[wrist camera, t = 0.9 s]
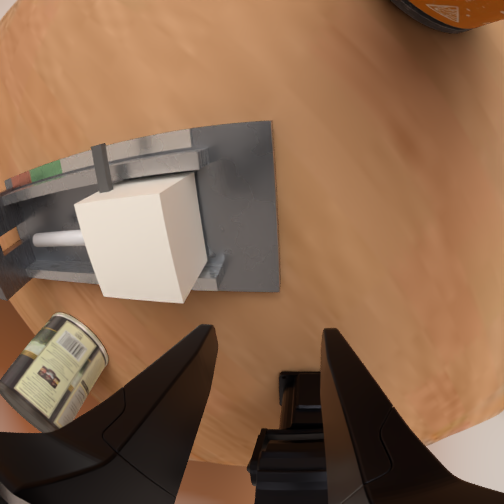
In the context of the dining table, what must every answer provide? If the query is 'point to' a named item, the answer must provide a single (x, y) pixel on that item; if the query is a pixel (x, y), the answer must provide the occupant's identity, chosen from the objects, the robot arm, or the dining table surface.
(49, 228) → the gauge track
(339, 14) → the dining table surface
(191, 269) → the white cube with rod
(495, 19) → the canister
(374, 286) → the dining table surface
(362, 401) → the robot arm
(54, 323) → the coffee can
